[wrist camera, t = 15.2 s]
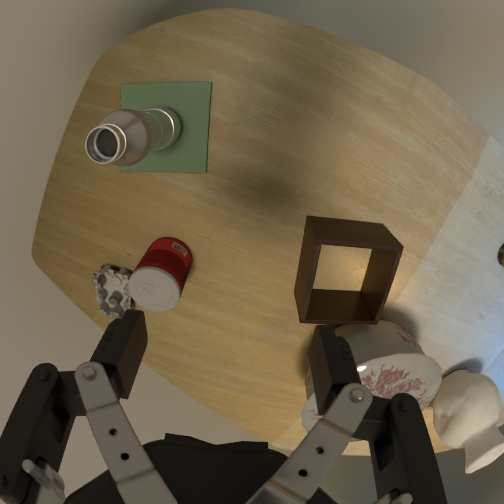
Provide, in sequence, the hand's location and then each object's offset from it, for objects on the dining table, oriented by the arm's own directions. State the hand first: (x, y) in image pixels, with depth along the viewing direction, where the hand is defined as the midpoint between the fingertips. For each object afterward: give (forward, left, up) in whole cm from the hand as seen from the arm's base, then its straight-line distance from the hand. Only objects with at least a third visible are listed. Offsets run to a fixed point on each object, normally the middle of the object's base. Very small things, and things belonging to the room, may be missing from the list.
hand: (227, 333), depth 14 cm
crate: (+14, +17, -36) cm, 42 cm away
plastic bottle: (-6, -13, -36) cm, 38 cm away
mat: (-6, -13, -36) cm, 39 cm away
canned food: (+16, -12, -36) cm, 41 cm away
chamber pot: (+35, +26, -36) cm, 57 cm away
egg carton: (+24, -23, -36) cm, 49 cm away
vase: (+51, +64, -36) cm, 90 cm away
